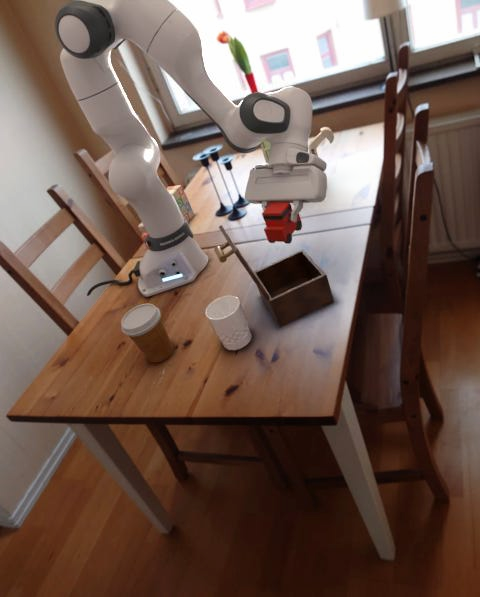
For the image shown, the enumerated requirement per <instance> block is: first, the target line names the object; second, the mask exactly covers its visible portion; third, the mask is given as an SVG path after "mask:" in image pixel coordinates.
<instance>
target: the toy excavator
mask: <svg viewBox="0 0 480 597" xmlns="http://www.w3.org/2000/svg"><path fill="white" fill-rule="evenodd" d="M319 131H320V132H319V133H318V134H317V135H316V136H315V137H314V138H313V139H312V140H311V141H310V142H309V143H308V153H312V154H314V155H316V156H318V157H319V154H318V151H317V149H318V147H319V146H320V145H321V144H322V143H323V142H324V140H325V139H327V141H328V142H329V144H332V143H333V142H334V140H335V135H334V133H333V131H332V129H331V128H330V127H328V126H323V127H321V128H320V130H319ZM323 172H325V171H323Z"/></svg>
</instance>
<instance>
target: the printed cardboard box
mask: <svg viewBox="0 0 480 597" xmlns="http://www.w3.org/2000/svg"><path fill="white" fill-rule="evenodd" d="M165 188H166V189H167V191H168V192H169V193H171V194H172V195H173V196H174V198H175V200H176V202H177V204H178V207H179V209H180V211H181V213H182V215H183V217H184V218H185V219H186V220H187V222H188V223H189V222H190V221H191V220H192V219H193V218H194V217H195V215H196V214H195V212H194V210H193V208H192V206H191V203H190V201H189V199H188V196H187V194H186V192H185V189H184V188H183V185H182V184H180V185H179V184H178V185H171V186H167V187H165ZM137 228H138V230H139V232H140V234H141V235H142V234H143V233H146V234H148V233H147V231H146V229H145V227H144V225H143V223H142V222H141V223H140V224H139V225H138V226H137Z"/></svg>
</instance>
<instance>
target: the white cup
mask: <svg viewBox="0 0 480 597" xmlns="http://www.w3.org/2000/svg"><path fill="white" fill-rule="evenodd" d="M205 316H206V318H207V320H208V322H209V323H210V325H211V327H212V329H213V331H214V332H215V334H216V335H217V337H218V339H219V340H220V342H221V343H222V345H223V347H224V348H225V349H226V350H228V351H238V350H241V349H243V348H244V347H246V346H247V345H248V344H249V343H250V342H251V341H252V336H253V335H252V333H251V330H250V327H249V323H248V319H247V317H246V315H245V311H244V309H243V306H242V304H241V301H240V299H239V298H238V297H237V296H235V295H222V296H219V297H217V298H215V299H214V300H213V301H211V302H210V303H209V304H208V305H207V306H206V308H205Z"/></svg>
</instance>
